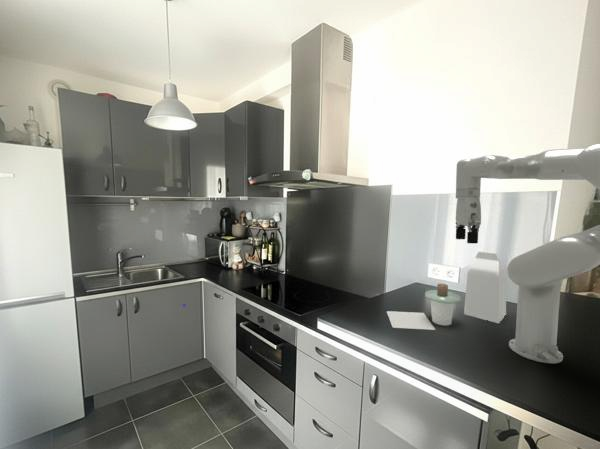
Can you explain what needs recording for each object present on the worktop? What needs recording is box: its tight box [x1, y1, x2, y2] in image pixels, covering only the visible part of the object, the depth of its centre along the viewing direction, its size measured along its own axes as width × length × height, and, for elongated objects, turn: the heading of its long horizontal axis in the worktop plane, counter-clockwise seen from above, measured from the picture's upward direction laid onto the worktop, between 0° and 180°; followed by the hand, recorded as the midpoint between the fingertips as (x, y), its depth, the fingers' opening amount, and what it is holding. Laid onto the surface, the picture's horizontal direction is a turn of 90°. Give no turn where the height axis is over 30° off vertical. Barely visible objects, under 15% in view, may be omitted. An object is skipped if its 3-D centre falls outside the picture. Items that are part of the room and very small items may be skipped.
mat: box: [386, 310, 436, 331], centre depth 107 cm, size 15×15×1 cm
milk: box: [463, 250, 507, 324], centre depth 110 cm, size 12×12×26 cm
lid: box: [424, 283, 461, 304], centre depth 104 cm, size 12×12×5 cm
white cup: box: [430, 300, 455, 327], centre depth 104 cm, size 8×8×10 cm
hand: (466, 241), depth 99 cm, fingers open, 9 cm apart
